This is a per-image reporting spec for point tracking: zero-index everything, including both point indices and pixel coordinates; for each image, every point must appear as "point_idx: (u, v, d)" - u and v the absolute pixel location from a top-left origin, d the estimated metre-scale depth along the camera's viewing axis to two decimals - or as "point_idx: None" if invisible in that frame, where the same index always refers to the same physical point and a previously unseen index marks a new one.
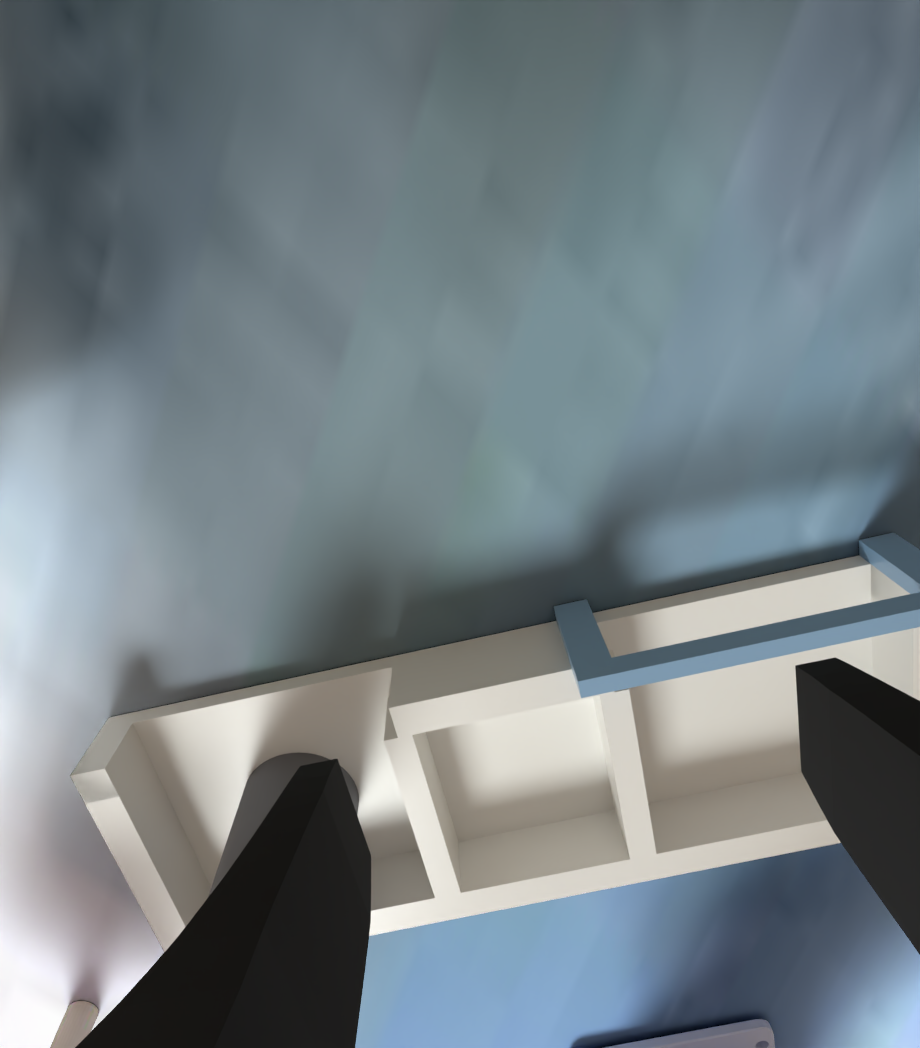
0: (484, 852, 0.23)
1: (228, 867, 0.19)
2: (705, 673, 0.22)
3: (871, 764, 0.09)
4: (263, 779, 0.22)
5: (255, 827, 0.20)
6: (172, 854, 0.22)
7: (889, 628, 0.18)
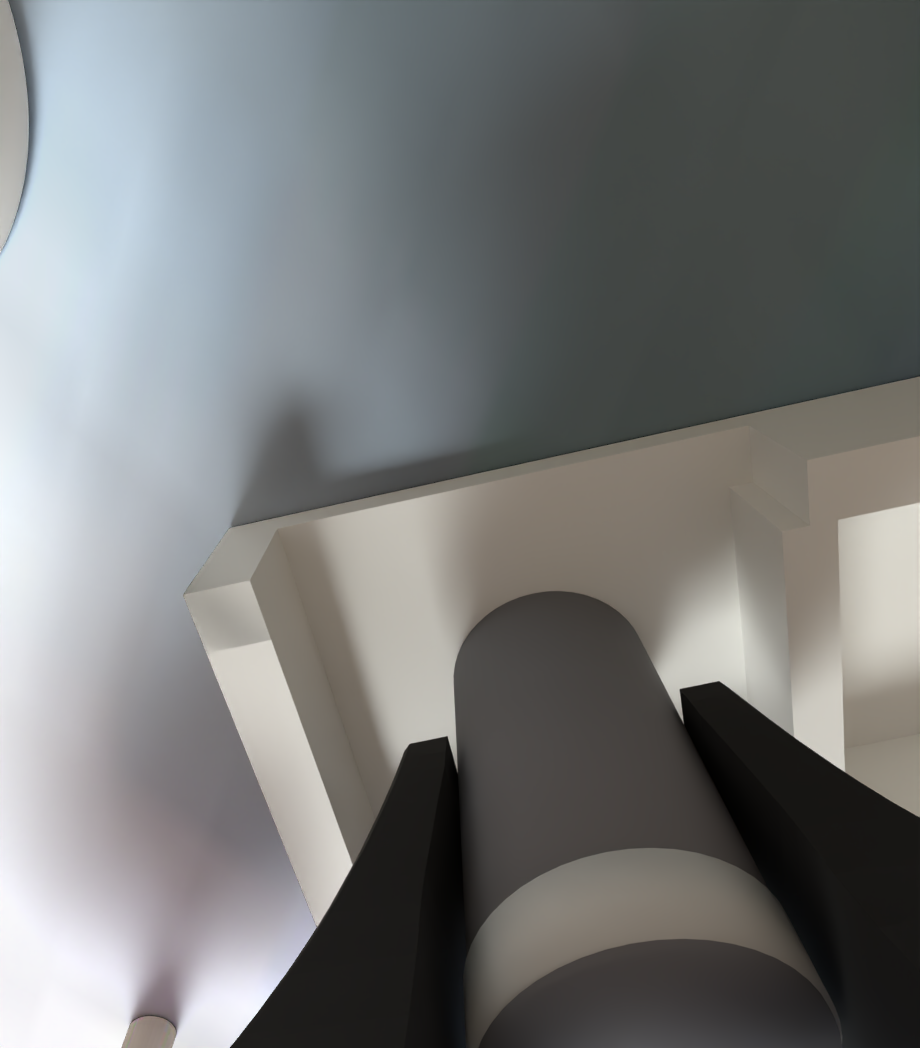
0: (852, 772, 0.14)
1: (515, 759, 0.09)
2: None
3: (734, 791, 0.09)
4: (514, 627, 0.12)
5: (541, 692, 0.10)
6: (338, 766, 0.13)
7: None
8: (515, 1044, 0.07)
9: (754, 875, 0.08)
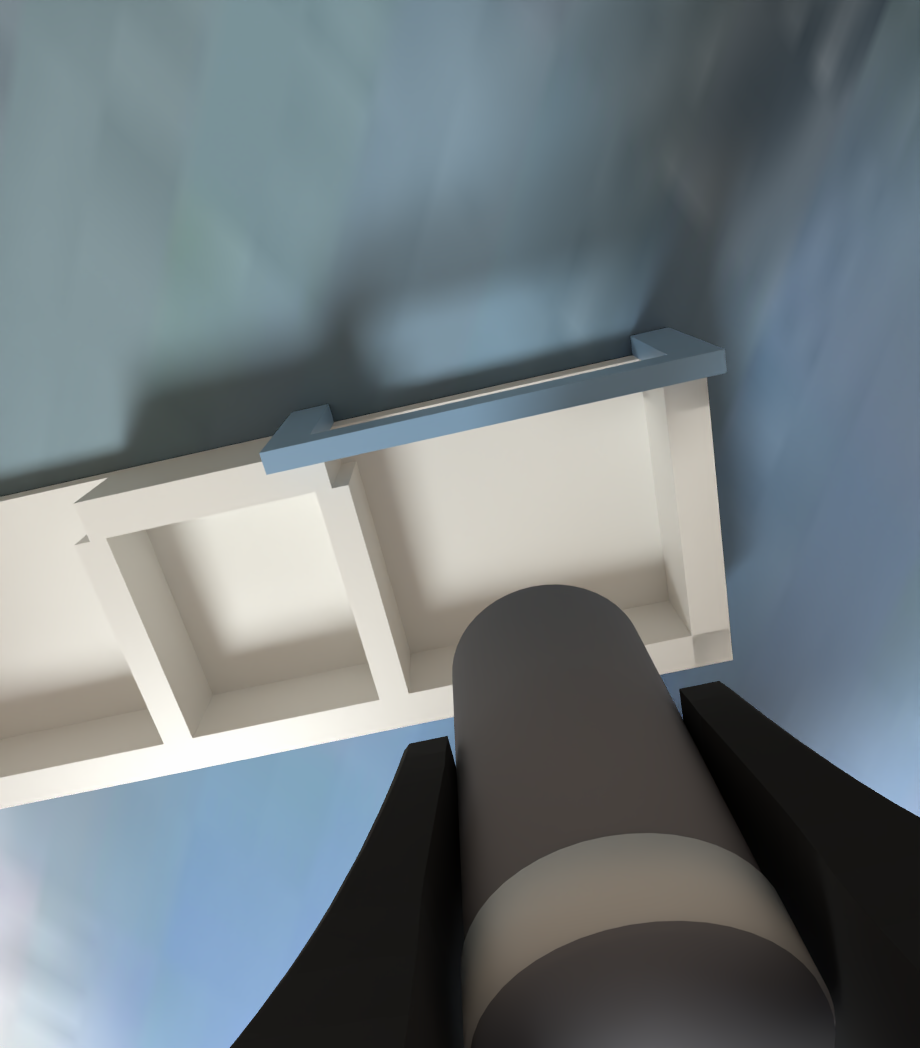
0: (234, 702, 0.21)
1: (514, 746, 0.09)
2: (466, 492, 0.20)
3: (734, 791, 0.09)
4: (513, 619, 0.12)
5: (541, 682, 0.10)
6: None
7: (614, 391, 0.15)
8: (513, 1024, 0.07)
9: (751, 862, 0.08)
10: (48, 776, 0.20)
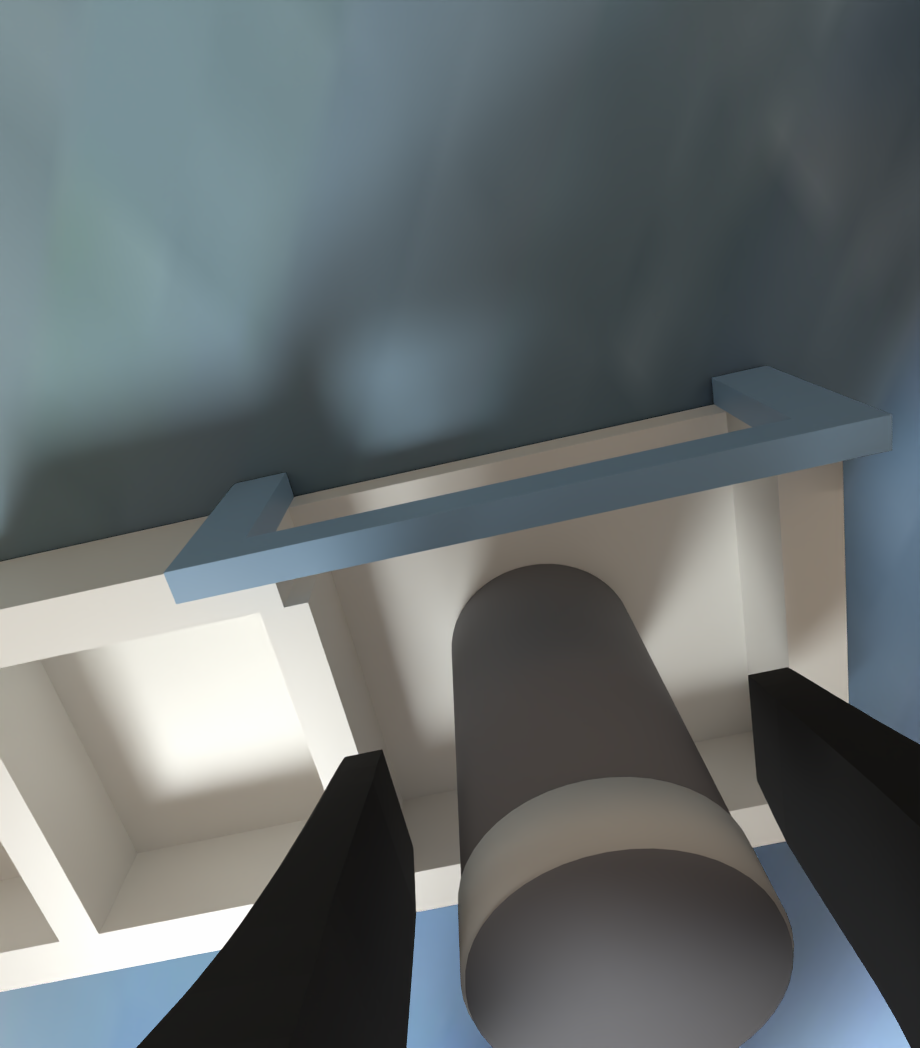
0: (163, 869, 0.15)
1: (509, 707, 0.10)
2: None
3: (815, 775, 0.09)
4: (508, 595, 0.13)
5: (534, 649, 0.11)
6: None
7: (715, 479, 0.10)
8: (504, 942, 0.08)
9: (721, 806, 0.09)
10: None
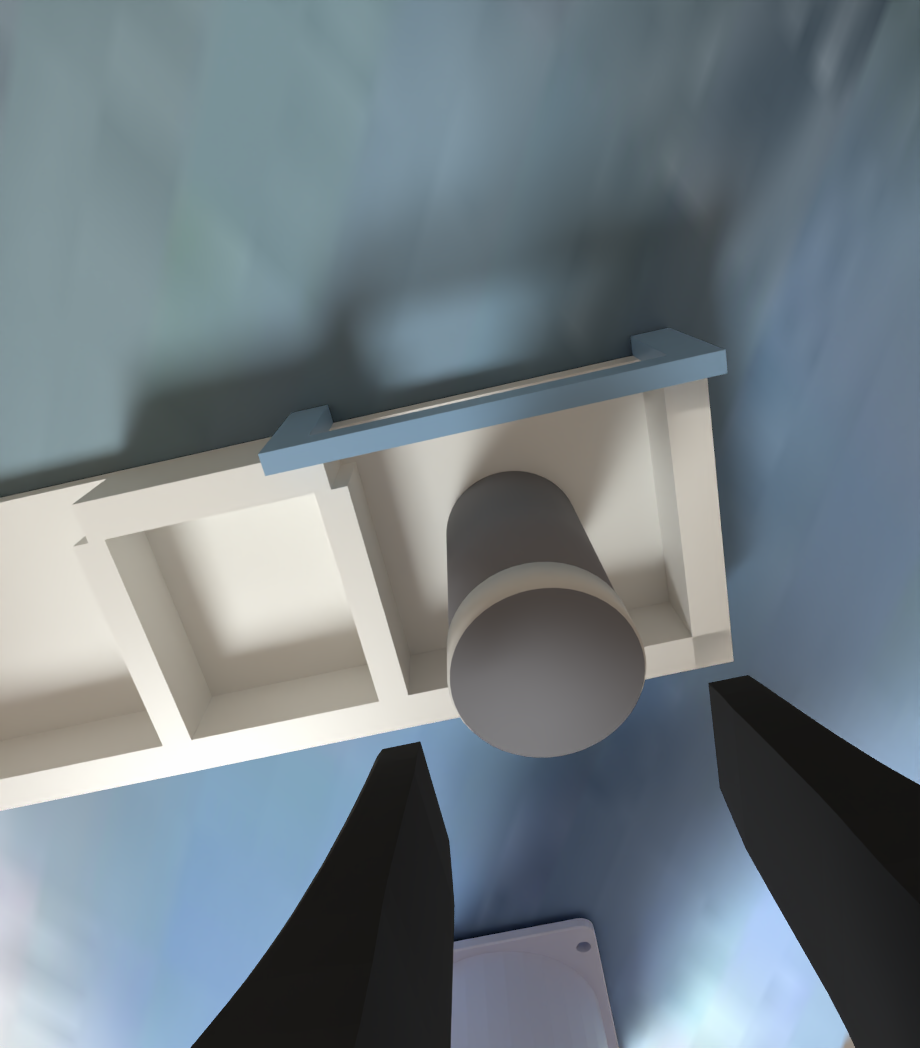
0: (233, 704, 0.21)
1: (481, 542, 0.16)
2: None
3: (768, 785, 0.09)
4: (486, 488, 0.19)
5: (500, 513, 0.17)
6: None
7: (614, 392, 0.15)
8: (472, 649, 0.13)
9: None
10: (47, 778, 0.20)
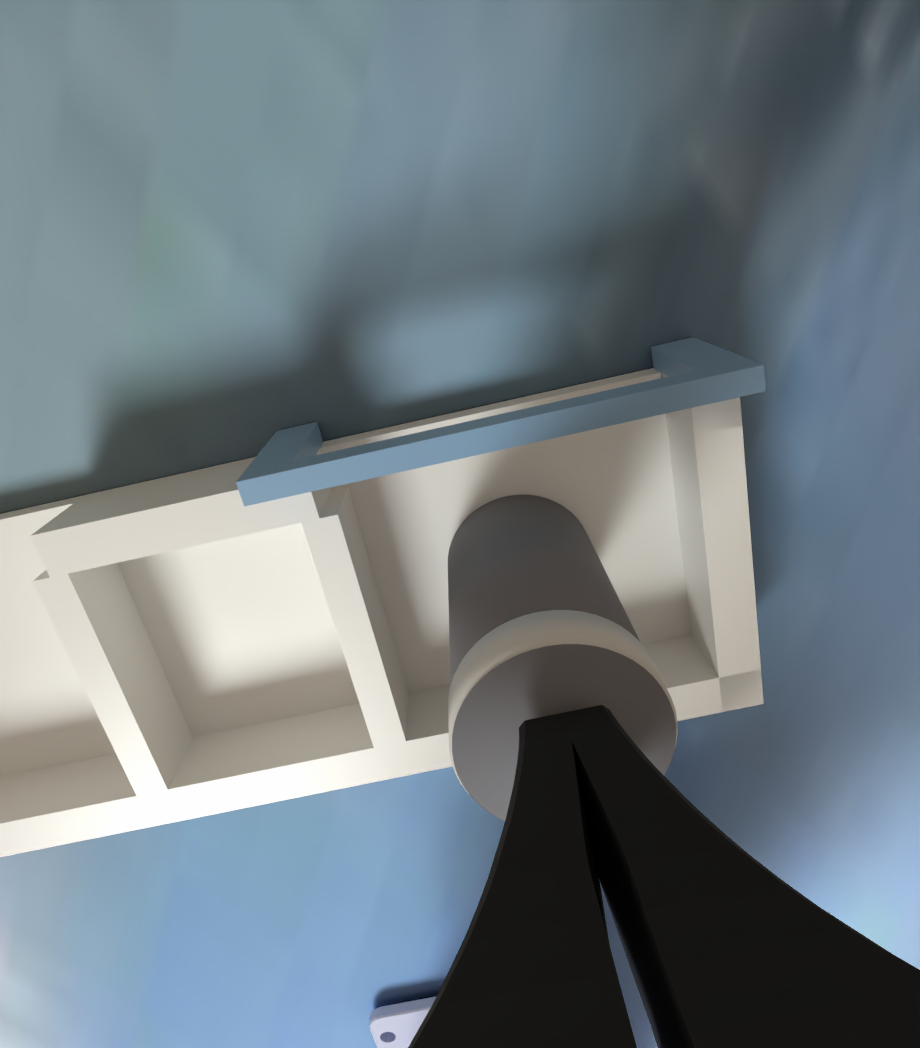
0: (215, 747, 0.19)
1: (487, 581, 0.14)
2: None
3: (596, 818, 0.09)
4: (492, 515, 0.17)
5: (508, 546, 0.15)
6: None
7: (638, 412, 0.14)
8: (478, 712, 0.12)
9: (634, 637, 0.13)
10: (10, 830, 0.18)
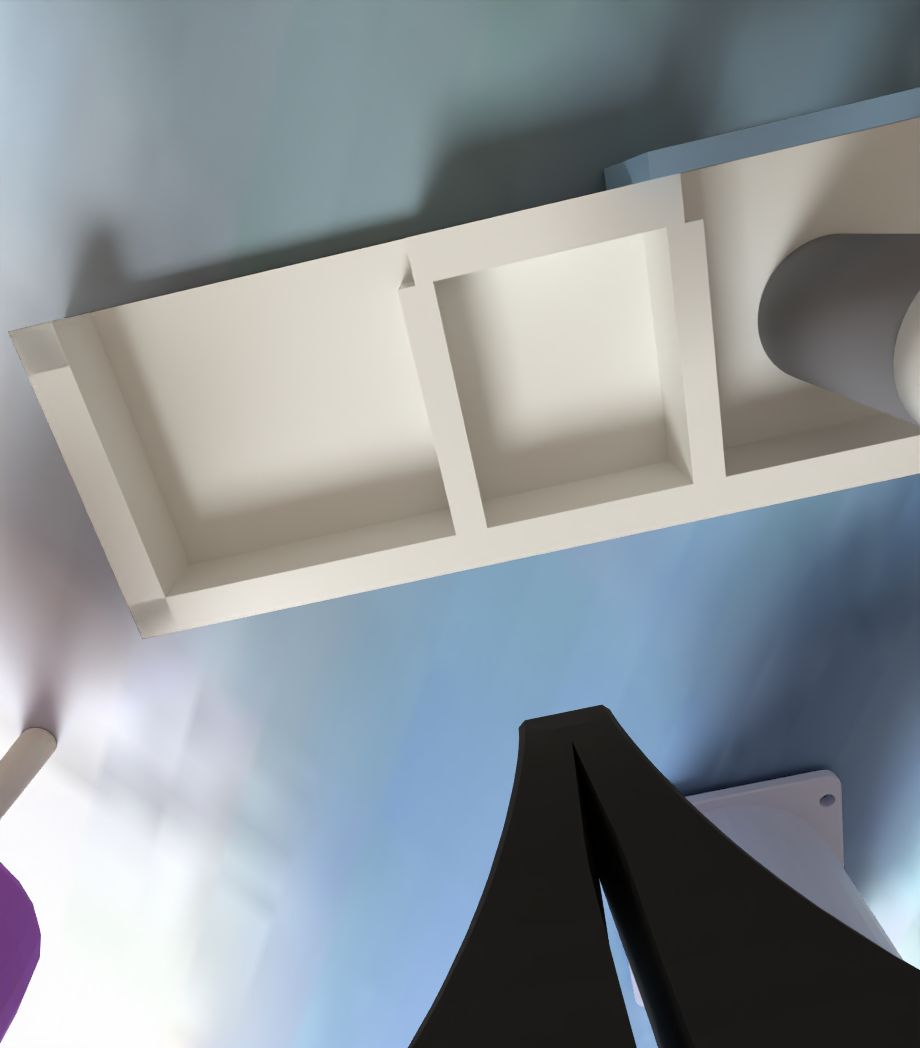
0: (514, 502, 0.20)
1: (892, 252, 0.14)
2: None
3: (597, 818, 0.09)
4: (829, 241, 0.17)
5: (888, 238, 0.15)
6: (138, 484, 0.19)
7: None
8: None
9: None
10: (328, 572, 0.19)
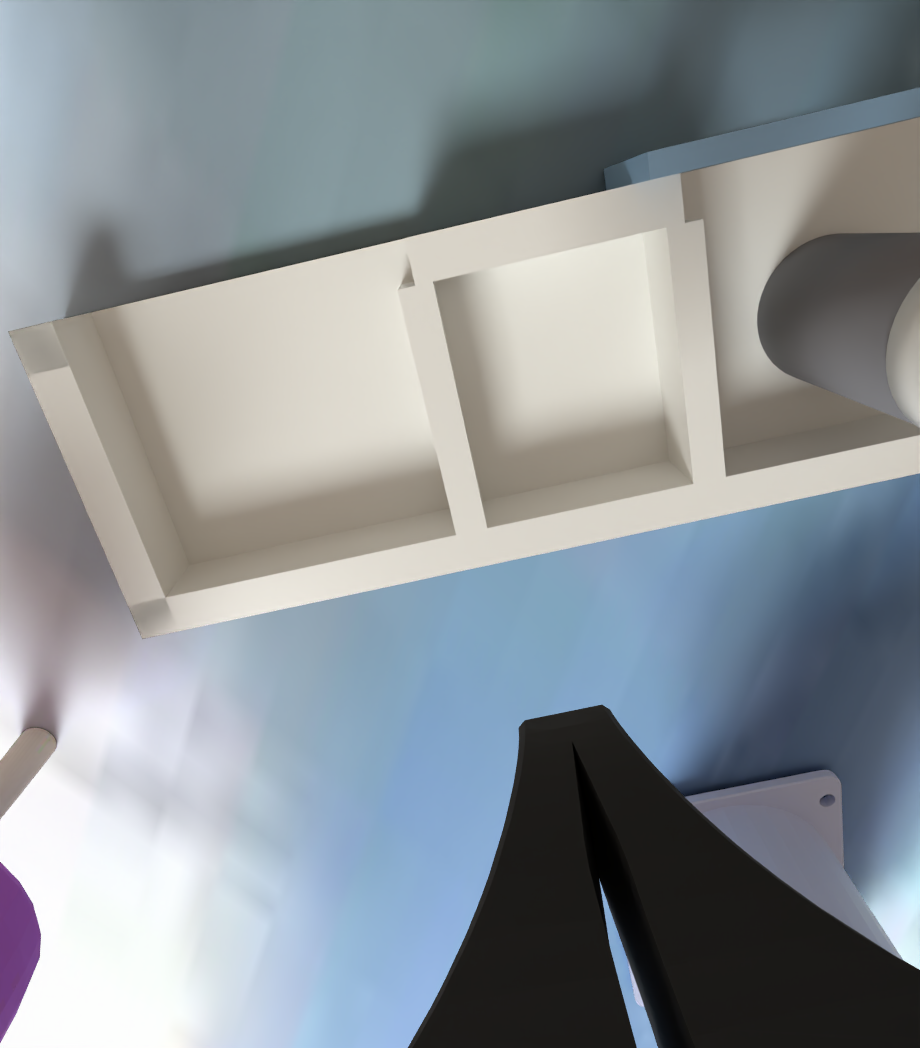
0: (514, 502, 0.20)
1: (888, 250, 0.14)
2: None
3: (597, 818, 0.09)
4: (828, 240, 0.17)
5: (884, 237, 0.15)
6: (138, 484, 0.19)
7: None
8: None
9: None
10: (328, 572, 0.19)
